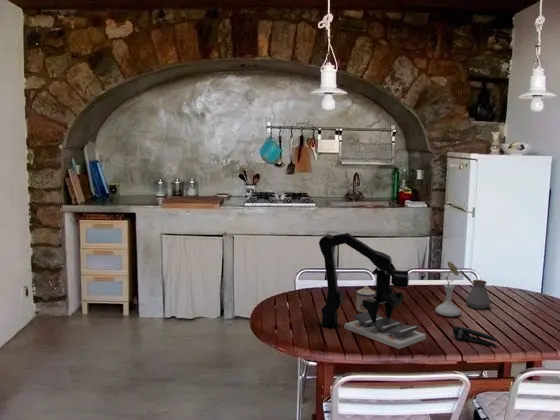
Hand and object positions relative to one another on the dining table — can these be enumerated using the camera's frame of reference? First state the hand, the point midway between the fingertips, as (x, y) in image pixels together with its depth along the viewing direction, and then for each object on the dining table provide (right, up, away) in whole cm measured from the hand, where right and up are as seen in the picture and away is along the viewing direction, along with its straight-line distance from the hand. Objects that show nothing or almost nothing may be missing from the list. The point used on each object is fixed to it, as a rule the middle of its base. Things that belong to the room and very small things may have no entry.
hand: (381, 321), depth 229 cm
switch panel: (+1, -5, -1) cm, 5 cm away
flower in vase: (+36, -2, +26) cm, 44 cm away
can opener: (+36, -7, -9) cm, 38 cm away
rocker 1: (-4, 0, +5) cm, 7 cm away
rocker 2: (+2, -1, -2) cm, 2 cm away
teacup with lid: (-1, -1, +29) cm, 29 cm away
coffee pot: (+53, -1, +43) cm, 68 cm away
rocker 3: (+7, -2, -9) cm, 11 cm away
